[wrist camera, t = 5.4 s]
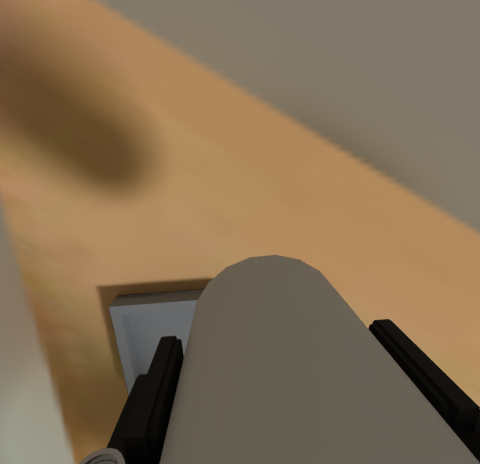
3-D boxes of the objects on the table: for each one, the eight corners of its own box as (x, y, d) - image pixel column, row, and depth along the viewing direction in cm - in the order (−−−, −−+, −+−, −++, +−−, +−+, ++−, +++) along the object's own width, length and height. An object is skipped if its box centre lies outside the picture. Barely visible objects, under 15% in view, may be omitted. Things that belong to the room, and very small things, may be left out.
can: (193, 371, 15) (60, 1165, 3) (196, 245, 13) (-141, 1101, 1) (323, 374, 15) (639, 1081, 3) (345, 252, 13) (1218, 929, 2)
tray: (229, 287, 28) (229, 297, 26) (235, 375, 32) (236, 391, 30) (117, 295, 28) (108, 306, 26) (136, 384, 31) (129, 400, 29)
